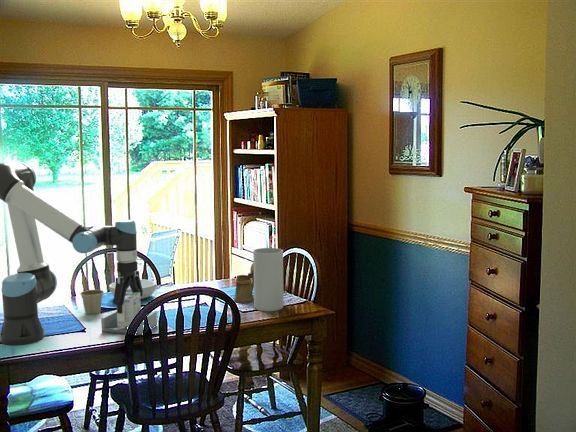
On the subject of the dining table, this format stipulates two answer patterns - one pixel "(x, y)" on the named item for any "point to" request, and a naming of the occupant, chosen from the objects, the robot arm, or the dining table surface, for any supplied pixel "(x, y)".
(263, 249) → the cylinder vase
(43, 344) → the dining table surface
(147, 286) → the serving bowl
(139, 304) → the light bulb box
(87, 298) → the flower pot
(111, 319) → the end holder
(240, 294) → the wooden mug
